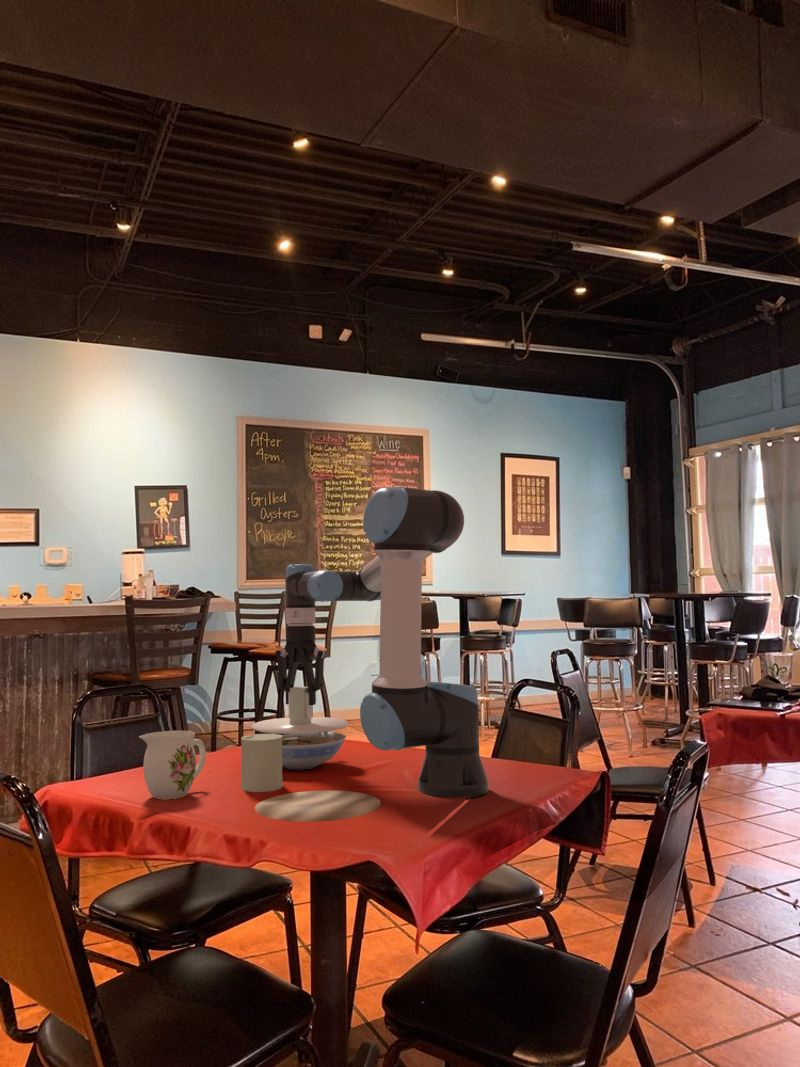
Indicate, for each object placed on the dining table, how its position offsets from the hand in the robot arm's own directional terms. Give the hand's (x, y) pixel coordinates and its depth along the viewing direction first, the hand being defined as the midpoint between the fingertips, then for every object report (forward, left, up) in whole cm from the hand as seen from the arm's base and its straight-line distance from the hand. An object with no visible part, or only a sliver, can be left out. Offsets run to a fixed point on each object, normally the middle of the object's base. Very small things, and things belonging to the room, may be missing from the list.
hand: (300, 717), depth 203 cm
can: (-3, +25, -12) cm, 28 cm away
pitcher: (+13, +35, -12) cm, 39 cm away
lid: (0, 0, -2) cm, 2 cm away
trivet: (-22, +36, -12) cm, 44 cm away
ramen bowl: (0, 0, -12) cm, 12 cm away
